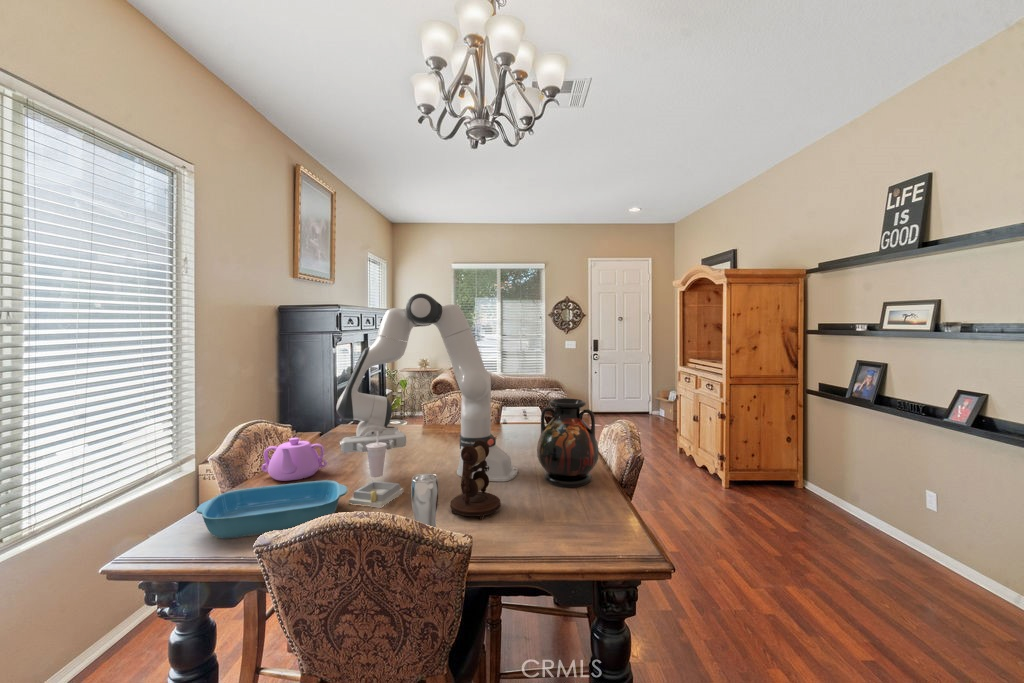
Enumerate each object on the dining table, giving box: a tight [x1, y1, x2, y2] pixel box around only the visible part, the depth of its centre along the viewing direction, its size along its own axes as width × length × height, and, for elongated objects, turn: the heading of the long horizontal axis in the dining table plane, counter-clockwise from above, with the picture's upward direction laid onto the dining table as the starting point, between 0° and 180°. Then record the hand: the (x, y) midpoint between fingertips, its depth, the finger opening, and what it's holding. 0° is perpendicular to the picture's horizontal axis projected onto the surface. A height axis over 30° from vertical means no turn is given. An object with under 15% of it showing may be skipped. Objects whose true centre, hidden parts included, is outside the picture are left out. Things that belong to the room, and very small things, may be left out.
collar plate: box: [348, 480, 404, 509], centre depth 137 cm, size 11×13×4 cm
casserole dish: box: [196, 480, 348, 539], centre depth 122 cm, size 37×22×7 cm, turn 113°
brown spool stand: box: [449, 440, 502, 521], centre depth 128 cm, size 15×15×20 cm
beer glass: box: [410, 473, 440, 528], centre depth 113 cm, size 7×7×15 cm
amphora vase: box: [536, 398, 600, 488], centre depth 153 cm, size 22×22×28 cm
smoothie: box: [366, 431, 387, 478], centre depth 137 cm, size 6×6×14 cm
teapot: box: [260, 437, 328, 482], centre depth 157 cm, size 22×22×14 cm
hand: (376, 448), depth 136 cm, fingers closed on smoothie, 6 cm apart
